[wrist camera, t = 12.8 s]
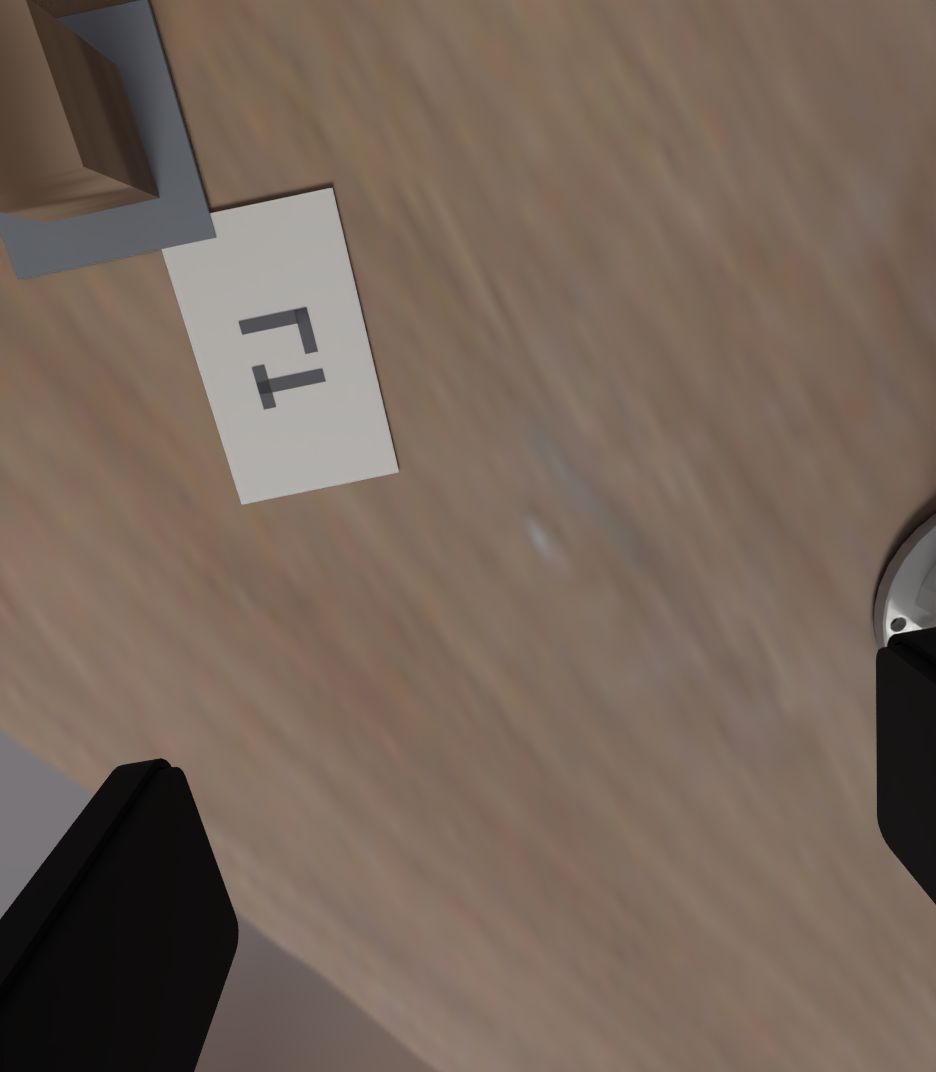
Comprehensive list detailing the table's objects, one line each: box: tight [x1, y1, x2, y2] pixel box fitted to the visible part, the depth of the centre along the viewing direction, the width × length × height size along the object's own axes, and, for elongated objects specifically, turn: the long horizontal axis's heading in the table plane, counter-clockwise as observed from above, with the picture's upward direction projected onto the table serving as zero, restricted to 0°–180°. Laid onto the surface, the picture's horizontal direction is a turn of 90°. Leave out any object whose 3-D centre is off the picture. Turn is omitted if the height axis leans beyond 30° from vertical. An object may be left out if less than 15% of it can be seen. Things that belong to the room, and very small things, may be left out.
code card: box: [162, 188, 399, 504], centre depth 33 cm, size 8×13×1 cm, turn 11°
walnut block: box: [0, 0, 160, 223], centre depth 26 cm, size 5×5×7 cm
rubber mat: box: [0, 0, 217, 279], centre depth 29 cm, size 9×9×1 cm
